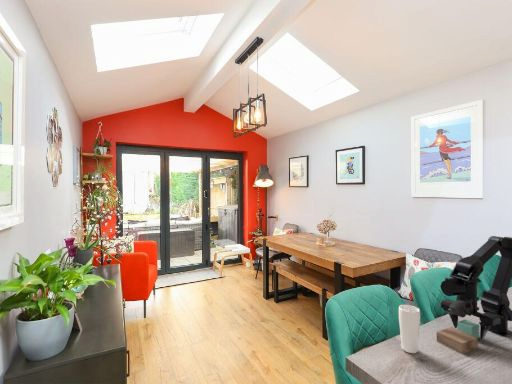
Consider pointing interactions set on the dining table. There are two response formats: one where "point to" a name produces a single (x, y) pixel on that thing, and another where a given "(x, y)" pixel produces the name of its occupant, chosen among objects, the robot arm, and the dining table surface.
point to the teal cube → (469, 328)
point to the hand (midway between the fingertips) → (468, 333)
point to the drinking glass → (409, 327)
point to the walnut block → (457, 340)
